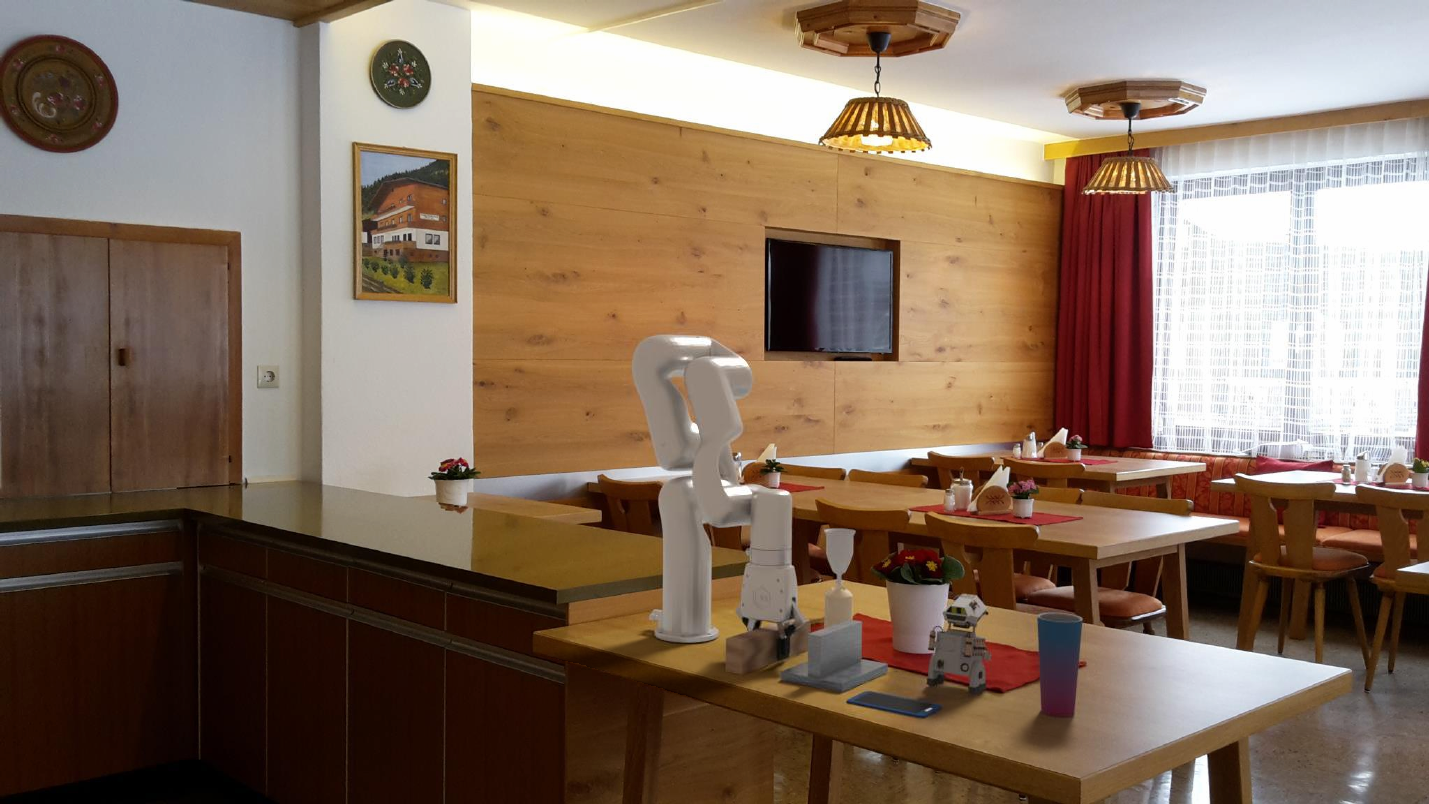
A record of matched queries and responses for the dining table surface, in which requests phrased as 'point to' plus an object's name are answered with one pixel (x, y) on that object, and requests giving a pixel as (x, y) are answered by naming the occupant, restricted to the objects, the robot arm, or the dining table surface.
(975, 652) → the figurine
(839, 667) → the ridge stand
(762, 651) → the wooden block
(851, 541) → the chalice
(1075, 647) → the cup
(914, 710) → the cell phone
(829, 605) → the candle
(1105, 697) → the dining table surface
